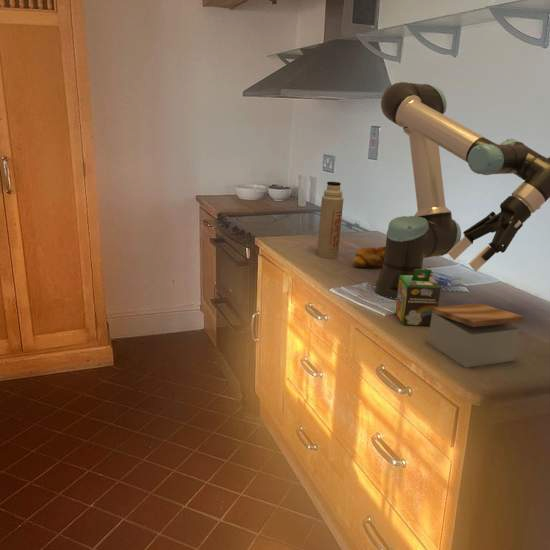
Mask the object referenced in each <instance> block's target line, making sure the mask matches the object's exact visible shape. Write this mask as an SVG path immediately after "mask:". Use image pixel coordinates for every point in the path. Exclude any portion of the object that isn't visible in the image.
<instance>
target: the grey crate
mask: <svg viewBox="0 0 550 550" xmlns="http://www.w3.org/2000/svg"><path fill="white" fill-rule="evenodd" d="M428 332H429V333H428V337H427V343H428V345H430V346H432V347H433V348H435V349H436V350H438V351H439V352H441V353H443V354H445V355H446V356H447V357H449V358H450V359H452V360H453V361H454V362H456V363H458V364H460V366H462V367H464V368H472V367H473V368H474V367H480V366H487V365H494V364H502V363H509V362H514V360H515V356H516V351H517V347H518V341H519V337H520V332H521V329H520V328H519V327H517V326H515V325H513V324H511V323H505V324H496V325H486V326H477V327H472V326H469V325H466V324H463V323H460V322H458V321H455V320H452V319H449V318H446V317H443V316H441V315H438V314H435V313H432V317H431V323H430V326H429V331H428Z"/></svg>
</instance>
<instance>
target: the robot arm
mask: <svg viewBox="0 0 550 550" xmlns="http://www.w3.org/2000/svg"><path fill="white" fill-rule="evenodd" d="M380 108H381V112H382V113H383V115H384V117H385V118H386V119H387V120H388V121H391V122H392V123H394V124H395V125H396V126H398V127H400V128H402V129H403V133H405V134H406V135H407V136H408V138H409V139H408V140H409V146H410V155H411V162H412V172H413V181H414V189H415V198H416V199H415V200H416V207H417V212H415V214H414V215H410V216H409V215H408V216H407V215H403V216H398V217H395V218H393V219H391V220H390V221H389V224H388V227H387V230H386V240H385V241H386V242H385V247H386V248H385V256H384V265H383V266H382V267H381V268H382V269H381V270H380V272H379V274H378V277H377V280H376V281H375V284H374V291H375V292H376V293H377V294H378V295H380V294H381V295H380V296H382V295H383V297H385V296H387V297H386V298H388V297H392V298H397V294H398V285H399V277H400V275H413V273H414V270H415V269H423V263H424V259H427V258H433V257H440V256H441V257H442V256H445V255H447V254H448V255H449V256H450V257H451V259H452V260H454V261H455V260H456V259H457V258H459V256H461V254H463V252H465V251H466V250H467V249H468V248H469V247H470V246H472V245H473V244H474V241H475V240H477V239H479V238H481V237H484V236H485V235H488V234H489V233H494V236H493V237H492V240H491V241H490V242H489V243H488V245H486V246H485V247H484V248H483V249H482V250H481V251H480V252H479V253H478V254H476V256H475V257H474V258H472V259H471V260H470V261H469V262H468V265H469V266H470V267H471V268H472V269H473V270H474V271H475V272H477V271H478V270H479V269H481V267H483V265H485V264H486V263H487V262H488V261H489V260H490V259H491V258H492V257H493V256H495V254H498V253H502V254H503V253H505V252H506V250H507V249H508V247H509V245H510V244H511V243H512V241H513V239H514V238H515V236H516V235H517V234H518V231H519V230H520V229H521V228H522V227H523V226H524V223H525V222H526V221H527V220H528V219H529V218H530V217H531V216H532V214H534V213H535V212H537V210H540V209H541V206H542V205H544V204H545V203H546V202H547V201H548V200H549V199H550V156H548V157H546V156H543V154H542V155H541V154H540V153H538V152H537V151H535V150H533V149H532V148H530V147H528V146H527V145H526V144H524V143H523V142H521V141H518V140H516V139H514V138H507V139H505V140H503V141H502V142H501V143H500V144H498V143H496V142H493V141H492V140H490V139H488V138H486V137H484V136H482V135H481V134H479V133H477V132H476V131H473V130H472V129H470V128H469V127H466V126H464V125H463V124H461V123H459V122H457V121H456V120H454V119H452V118H451V117H448V116H447V115H445V113H446V110H447V99H446V96H445V94H444V92H443V91H442V90H441V88H439V87H436V86H434V85H431V84H428V83H427V84H426V83H414V82H407V81H400V82H396V83H393V84H391V85H390V86H388V87H387V88H386V90H384V92H383V94H382V97H381V100H380ZM440 147H441V148H443V149H444V150H445V151H447V152H450V153H451V154H452V155H454V156H456V157H458V158H459V159H461V160H463V162H466V163H467V165H468V166H469V169H470V170H471V171H472V172H473V173H474V174H476V175H477V174H478V175H483V176H489V175H506V174H509V175H512V174H513V175H516V177H519V179H522V180H523V182H522V183H520V184H519V186H518V187H517V188H516V189H515V190H514V191H512V193H511V195H509V196H508V197H507V198H505V199H504V200H503V201H502V202H501V203H500V204H499V207H500V212H499V213H497V214H496V212H494V211H491V212H490V213H488V215H486V216H485V217H484V218H482V219H481V220H479V221H477V222H476V223H474V224H473V225H471V226H470V227H469V228H467V229H465V230H464V231H463V232H462V231H461V229H462V228H461V226H460V224H459V223H458V222H457V221H456V220H455V219H453V217H452V216H453V214H452V211H451V210H450V209H449V208H448V207H447V206H446V199H445V190H444V182H443V172H442V163H441V155H440ZM462 233H463V238H462ZM418 275H423V273H419V274H418ZM392 298H391V299H392Z"/></svg>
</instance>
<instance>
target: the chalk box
mask: <svg viewBox="0 0 550 550" xmlns="http://www.w3.org/2000/svg"><path fill="white" fill-rule="evenodd" d="M419 273H422V275H418V274H419ZM423 274H425V275H423ZM441 290H442V285H441V284H439V282H437V281H436V279H435V278H434V277H433V276H432V270H431V269H425V268H422V269H415V270H414V273H413V275H400V277H399V285H398V294H397V299H396V304H395V311H396V313H395V315H396V314H397V315H396V316H397V318H398V319H399V321H400V322H401V324H402V325H403V326H420V327H421V326H422V327H430V323H431V317H432V312H431V308H432V307H439V305H440V304H439V303H440V297H441Z"/></svg>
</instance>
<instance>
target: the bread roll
mask: <svg viewBox="0 0 550 550" xmlns="http://www.w3.org/2000/svg"><path fill="white" fill-rule="evenodd" d="M385 248H386V246H380V247H377V248H376V247H362V248H359V249H358V250H357V251H356V253H355V257H354V258H353V260H352V263H353V266H354V267H357V268H361V269H365V268H370V269H379V268H383V265H384V256H385Z"/></svg>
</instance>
